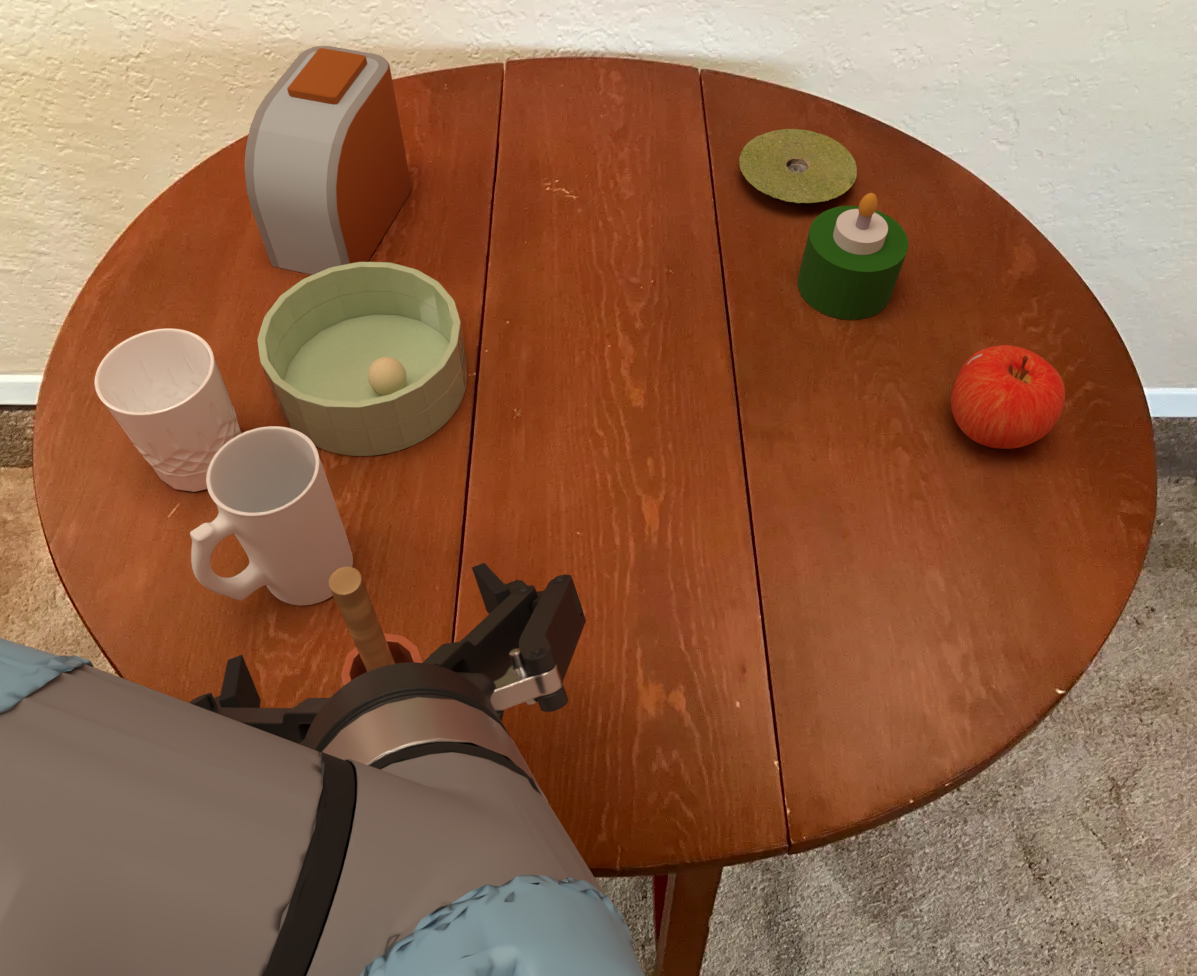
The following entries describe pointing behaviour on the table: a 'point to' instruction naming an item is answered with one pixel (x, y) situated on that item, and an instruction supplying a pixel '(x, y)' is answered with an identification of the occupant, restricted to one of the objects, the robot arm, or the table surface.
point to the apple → (1007, 397)
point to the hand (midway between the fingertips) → (368, 631)
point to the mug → (273, 518)
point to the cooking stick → (360, 617)
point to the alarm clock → (326, 160)
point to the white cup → (169, 402)
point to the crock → (399, 649)
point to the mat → (798, 166)
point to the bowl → (364, 357)
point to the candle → (852, 260)
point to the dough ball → (386, 375)
